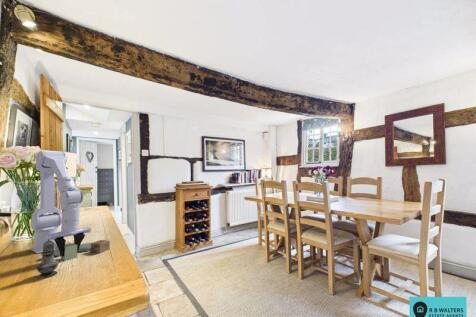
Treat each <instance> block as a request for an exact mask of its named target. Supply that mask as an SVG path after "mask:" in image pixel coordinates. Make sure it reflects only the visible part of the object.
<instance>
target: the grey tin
mask: <svg viewBox="0 0 476 317" xmlns="http://www.w3.org/2000/svg"><path fill="white" fill-rule="evenodd" d="M54 251H55V252H54V259H55V258H59V257H60V258H61V256H60V252H59V249H58V246H57V244H56V243H54Z"/></svg>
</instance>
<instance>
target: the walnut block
mask: <svg viewBox="0 0 476 317" xmlns="http://www.w3.org/2000/svg"><path fill="white" fill-rule="evenodd" d="M110 242H111V241H110V240H109V239H108V240H107V239H99V240H97V241H94V242H90V243H91V250H90V251H89V252H90V253H92V254H102V253H104V252H106V251H110Z"/></svg>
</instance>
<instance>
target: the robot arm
mask: <svg viewBox="0 0 476 317" xmlns="http://www.w3.org/2000/svg"><path fill="white" fill-rule="evenodd" d="M67 161H68V155H67V153H66V152H64V151H63V152H60V151H45V150H39V151H38V152H37V153H36V156H35V169H36V170H37V171H39V174H40V180H39V181H40V186H39V187H40V193H39V194H40V195H39V196H40V197H39V198H40V200H39V201H40V204H39V205H40V206H39V208H37V209H36V210H35V211H33V213H32V214H31V219H30V228H31V230H32V231H35V232H34V234H33V247H31V248H30V250H31V252H34V253H36V254H41V253H43V244H44V243H45V242H47V241H48V239H50V241H53V242H54V243H56V244H57V246H58V249H59V252H60V258H61V257H64V253H65V250H64V248H65V242H67V240H66V239H65V238H66V237H67V238H68V237H72V236H73V243H74V244H77V254H78V253H79V252H78V250H79V247H80V245H81V244H82V242H83V240H84V239H85V237H86V235H85V234H86V233H88V234H89V233H92V227H89V226H88V227H80V205H81V204H82V202H83V200H84V195H83V194H84V193H83V190H81V189H80V188H78V187H77V186H76V183H75V181H74V179H73V176H72V177H71V176H69V174H68V171H67V167H66V165H67ZM55 176H56V178H57V179H56V181H55ZM55 183H56V185H57V186H56V187H57V188H58V191H59V194H60V195H59V199H58V200H59V204H60V209H59V208H58V207H55ZM59 227H61V228H60V231H58V232H57V230H58V229H59Z"/></svg>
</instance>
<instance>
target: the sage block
mask: <svg viewBox="0 0 476 317" xmlns="http://www.w3.org/2000/svg"><path fill="white" fill-rule="evenodd" d="M64 250H65V253H64V257H61V256H60V259H61V260H63V261H69V260H73V259H76V258H78V253H77V244H74V242H73V243H72V242H71V244H67V245H65V248H64Z"/></svg>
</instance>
